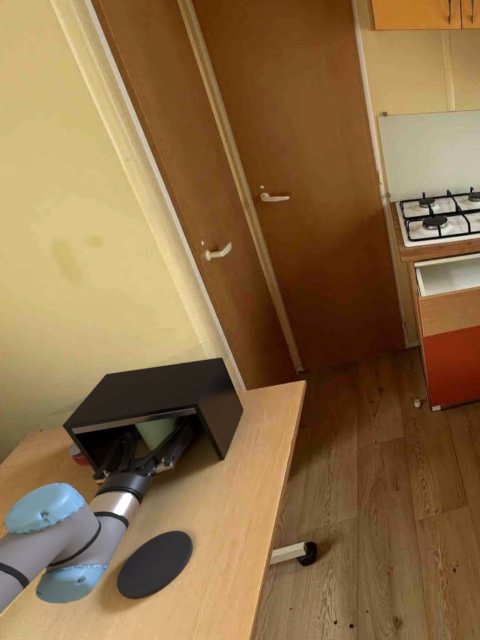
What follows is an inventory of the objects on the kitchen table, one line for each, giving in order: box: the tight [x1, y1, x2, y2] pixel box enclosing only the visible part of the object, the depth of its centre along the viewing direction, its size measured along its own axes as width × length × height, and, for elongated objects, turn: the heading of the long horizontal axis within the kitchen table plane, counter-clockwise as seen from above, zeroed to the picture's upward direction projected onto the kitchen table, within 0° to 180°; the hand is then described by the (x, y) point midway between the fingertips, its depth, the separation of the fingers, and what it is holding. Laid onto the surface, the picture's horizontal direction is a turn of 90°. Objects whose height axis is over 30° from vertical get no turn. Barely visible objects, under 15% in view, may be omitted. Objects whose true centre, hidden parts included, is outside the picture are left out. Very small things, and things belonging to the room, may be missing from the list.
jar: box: [135, 417, 189, 458], centre depth 96 cm, size 7×7×12 cm
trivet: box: [116, 530, 194, 600], centre depth 78 cm, size 11×11×1 cm
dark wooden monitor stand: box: [62, 356, 245, 473], centre depth 97 cm, size 15×24×18 cm, turn 104°
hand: (170, 410), depth 100 cm, fingers closed on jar, 7 cm apart
